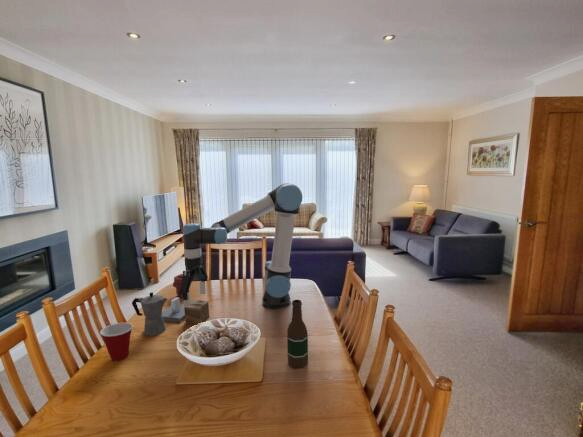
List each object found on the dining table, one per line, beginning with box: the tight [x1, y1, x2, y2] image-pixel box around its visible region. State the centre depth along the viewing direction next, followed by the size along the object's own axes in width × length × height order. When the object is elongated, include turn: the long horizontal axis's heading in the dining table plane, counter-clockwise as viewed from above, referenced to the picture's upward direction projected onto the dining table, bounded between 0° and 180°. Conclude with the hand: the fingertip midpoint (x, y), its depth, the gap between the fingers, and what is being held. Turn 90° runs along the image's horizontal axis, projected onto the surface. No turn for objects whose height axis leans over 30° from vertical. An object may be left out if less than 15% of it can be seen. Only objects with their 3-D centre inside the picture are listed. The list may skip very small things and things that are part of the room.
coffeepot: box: [131, 292, 168, 337], centre depth 129 cm, size 15×9×18 cm, turn 92°
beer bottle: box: [286, 299, 309, 369], centre depth 105 cm, size 8×8×24 cm
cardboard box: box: [184, 299, 210, 325], centre depth 139 cm, size 8×8×8 cm
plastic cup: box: [99, 322, 134, 362], centre depth 111 cm, size 11×11×12 cm
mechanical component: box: [172, 273, 190, 299], centre depth 167 cm, size 12×10×10 cm
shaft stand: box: [162, 296, 185, 323], centre depth 144 cm, size 13×12×8 cm
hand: (195, 299), depth 138 cm, fingers open, 13 cm apart
